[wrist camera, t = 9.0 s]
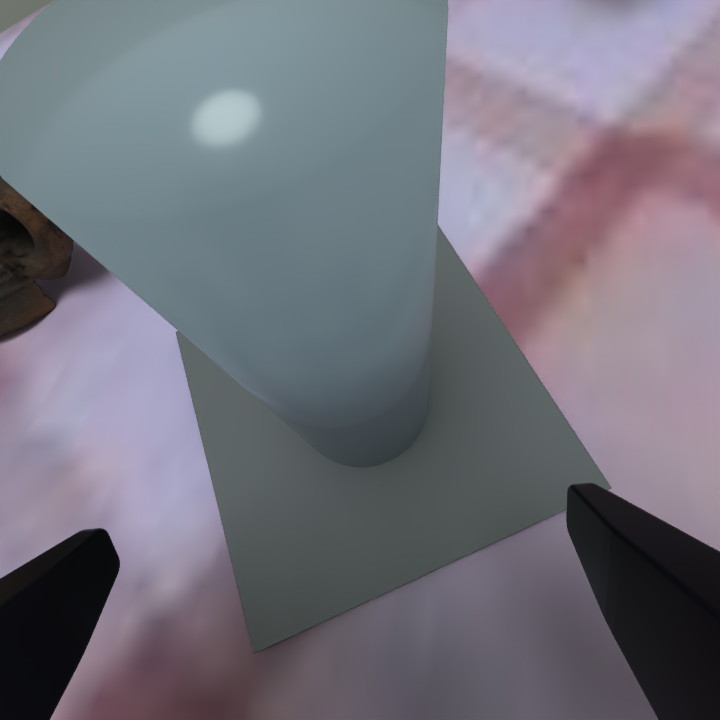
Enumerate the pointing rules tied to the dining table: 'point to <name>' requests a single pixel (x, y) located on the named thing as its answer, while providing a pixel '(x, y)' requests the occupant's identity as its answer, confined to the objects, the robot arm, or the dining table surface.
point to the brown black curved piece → (27, 259)
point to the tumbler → (253, 187)
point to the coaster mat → (386, 473)
